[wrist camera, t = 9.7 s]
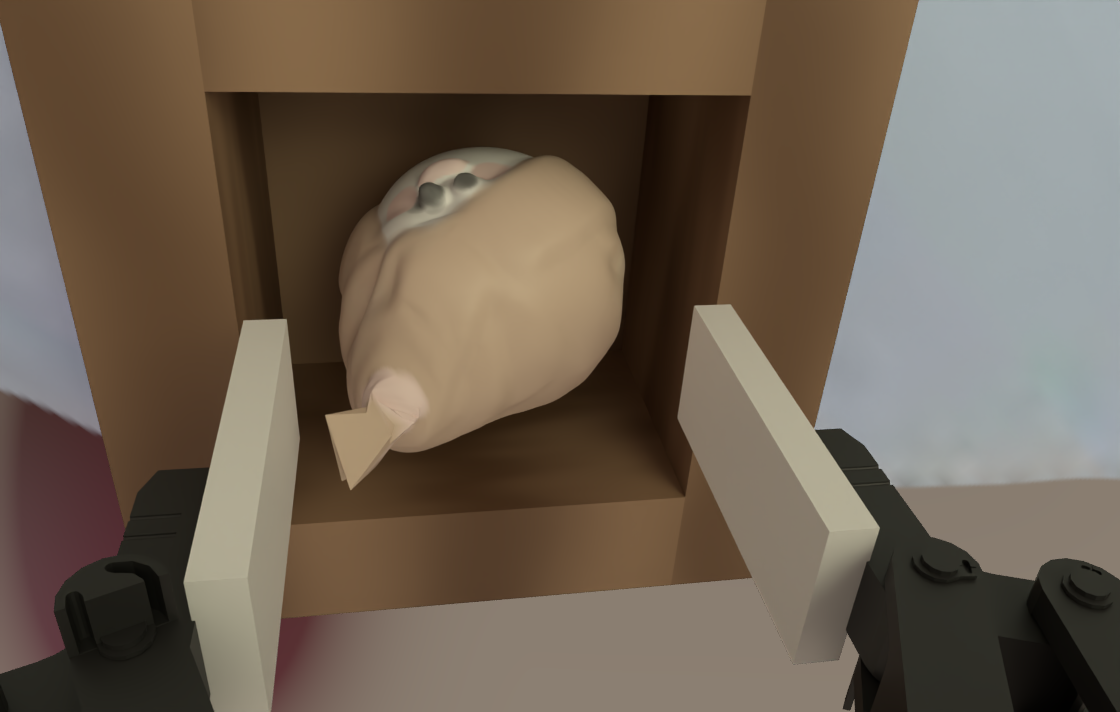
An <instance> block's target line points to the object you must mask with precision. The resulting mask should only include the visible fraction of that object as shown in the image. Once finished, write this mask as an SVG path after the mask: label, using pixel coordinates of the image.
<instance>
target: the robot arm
mask: <svg viewBox="0 0 1120 712" xmlns="http://www.w3.org/2000/svg"><path fill="white" fill-rule="evenodd" d="M677 418H678V421H679V423H680V425H681V427H682V429H683V431H684V433H685V436H686V438H687V440H688V442H689V444H690V446H691V448H692V450H693V453H694V455H695V457H696V459H697V461H698V463H699V465H700V467H701V470H702V472H703V474H704V476H705V478H706V480H707V482H708V485H709V487H710V489H711V491H712V493H713V495H714V497H715V499H716V502H717V504H718V506H719V508H720V510H721V512H722V514H723V516H724V519H725V521H726V523H727V525H728V527H729V529H730V531H731V534H732V536H733V538H734V540H735V542H736V544H737V546H738V548H739V551H740V553H741V555H742V557H743V559H744V561H745V563H746V565H747V568H748V570H749V572H750V574H751V576H752V578H753V580H754V582H755V585H756V587H757V589H758V591H759V593H760V595H761V597H762V600H763V602H764V604H765V606H766V608H767V610H768V612H769V614H770V616H771V619H772V621H773V623H774V625H775V627H776V629H777V632H778V634H779V636H780V638H781V640H782V642H783V644H784V646H785V648H786V651H787V653H788V655H789V657H790V659H791V661H792V663H793V665H795V664H803V663H814V662H824V661H834V660H839V658H840V654H841V651H842V648H843V645H844V642H845V639H846V635H847V633H848V635H849V637H850V639H851V641H852V642H853V644H854V646H855V648H856V650H857V652H858V653H859V658H858V661H857V664H856V667H855V670H854V674H853V676H852V679H851V683H850V685H849V689H848V692H847V695H846V698H845V702H844V706H843V709H845V710H851V707H852V704H853V701H854V699H855V712H1120V580H1119V579H1118V578H1116V577H1114V576H1113V575H1111V574H1110V573H1108V572H1107V571H1105V570H1103V569H1102V568H1100V567H1097V566H1094V565H1092V564H1089V563H1087V562H1084V561H1079V560H1072V559H1067V558H1064V559H1055V560H1050V561H1049V562H1047V563H1045V564H1044V565H1042V566H1041V568H1040V570H1039V572H1038V575H1037V577H1036V579H1035V581H1032V580H1026V579H1020V578H1014V577H1008V576H1001V575H995V574H991V573H987V572H983V571H982V570H981V568H980V566H979V564H978V563H977V562H976V561H975V560H974V559H973V558H972V557H971V556H970V555H969V554H968V553H967V552H966V551H964V550H962V549H961V548H958V547H957V546H955V545H954V544H952V543H949V542H946V541H942V540H940V539H936V538H933V537H930V536H929V534H928V533H927V531H926V530H925V529H924V527H923V526H922V524H921V523H920V522H919V520H918V519H917V518H916V516H915V515H914V514H913V512H912V511H911V509H910V508H909V507H908V505H907V504H906V502H905V501H904V500H903V498H902V497H901V496H900V494H899V493H898V491H897V490H896V489H895V487H894V486H893V485H890V480H889V479H888V478H887V476H886V475H885V473H884V472H883V471H882V469H879V468H878V464H877V462H876V461H875V460H874V458H873V457H872V456H871V454H870V453H869V451H868V450H867V449H866V447H865V446H864V445H863V444H861V443H860V442H859V441H857V440H856V439H855V438H853V437H852V436H850V435H849V434H848V433H846V432H845V431H843V430H842V429H824V430H814V428H813V427H812V425H811V424H810V422H809V421H808V419H807V418H806V416H805V415H804V413H803V412H802V410H801V409H800V407H799V406H798V404H797V403H796V401H795V400H794V398H793V397H792V395H791V394H790V392H789V391H788V389H787V388H786V386H785V385H784V383H783V382H782V380H781V379H780V377H779V376H778V374H777V373H776V371H775V370H774V368H773V367H772V365H771V364H770V362H769V361H768V360H767V358H766V357H765V355H764V354H763V352H762V351H761V349H760V348H759V346H758V345H757V343H756V342H755V340H754V339H753V337H752V336H751V334H750V333H749V331H748V330H747V328H746V327H745V325H744V324H743V322H742V321H741V319H740V318H739V316H738V315H737V313H736V312H735V310H734V309H733V307H732V306H731V304H726V305H696V306H694V310H693V317H692V323H691V330H690V337H689V343H688V350H687V357H686V363H685V370H684V377H683V384H682V390H681V397H680V404H679V410H678V417H677ZM299 442H300V436H299V427H298V418H297V409H296V399H295V390H294V381H293V372H292V363H291V354H290V345H289V336H288V327H287V319H270V320H244V321H243V325H242V329H241V334H240V338H239V342H238V347H237V351H236V356H235V360H234V364H233V369H232V373H231V377H230V382H229V386H228V390H227V395H226V399H225V404H224V408H223V412H222V417H221V421H220V425H219V430H218V434H217V439H216V443H215V447H214V452H213V456H212V460H211V465H210V467H206V468H189V469H172V470H158V471H157V472H156V473H155V474H154V475H153V476H152V477H151V478H150V480H149V481H148V482H147V483H146V484H145V485H144V486H143V487H142V488H141V489H140V490H139V491H138V492H137V495H136V498H135V501H134V505H133V508H132V511H131V514H130V521H128V523H127V526H126V530H125V533H124V536H123V537H124V540H123V541H122V542H121V545H120V548H119V551H118V554H117V556H113V557H108V558H103V559H101V560H99V561H96V562H94V563H92V564H90V565H87V566H85V567H83V568H81V569H80V570H79V571H77V572H76V573H75V574H74V575H72V576H71V577H70V578H69V579H67V580H66V581H65V582H64V584H63V585H62V587H61V588H60V590H59V592H58V593H57V595H56V596H55V606H54V613H55V617H56V619H57V623H58V626H59V629H60V632H61V635H62V639H63V641H64V644H65V649H64V650H62V651H60V652H59V653H57V654H55V655H53V656H51V657H48V658H46V659H43V660H41V661H38V662H36V663H33V664H29V665H27V666H23V667H21V668H17V669H15V670H11V671H8V672H5V673H2V674H0V712H271V706H272V698H273V688H274V679H275V669H276V660H277V650H278V641H279V631H280V622H281V612H282V603H283V593H284V584H285V575H286V565H287V556H288V546H289V537H290V527H291V518H292V508H293V499H294V489H295V480H296V470H297V461H298V451H299Z"/></svg>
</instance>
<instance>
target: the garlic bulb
mask: <svg viewBox="0 0 1120 712" xmlns="http://www.w3.org/2000/svg"><path fill="white" fill-rule="evenodd" d="M624 272H625V258H624V252H623V248H622V245H621V241H620V239H619V236H618V233H617V226H616V215H615V210H614V208H613V206H612V204H611V202H610V201H609V200H608V198H607V197H606V196H605V195H604V194H603V193H602V192H601V191H600V189H599V188H598V187H597V186H596V185H595V184H594V183H593V182H592V181H591V180H590V179H589V178H588V177H587V176H586V175H585V174H583V173H582V172H581V171H580V170H578V169H577V168H576V167H574V166H573V165H571V164H570V163H569V162H567V161H565V160H563V159H561V158H559V157H556V156H551V155H544V156H538V157H532V156H529V155H526V154H523V153H520V152H517V151H513V150H508V149H503V148H495V147H469V148H461V149H455V150H451V151H447V152H444V153H440V154H438V155H435V156H432V157H430V158H428V159H426V160H424V161H422V162H420V163H419V164H417V165H415V166H414V167H412V168H411V169H410V170H408V171H407V172H406V173H405V174H403V175H402V176H401V177H400V178H399V179H398V180H397V181H396V182H395V183H394V185H393V186H392V187H391V188H390V190H389V191H388V192H387V194H386V195H385V197H384V198H383V200H382V202H381V203H380V204H379V205H377V206H375V207H374V208H372V209H371V210H369V211H368V212H367V213H366V214H365V215H364V216H363V217H362V218H361V219H360V221H359V222H358V223H357V225H356V226H355V228H354V229H353V231H352V233H351V235H350V237H349V239H348V242H347V244H346V247H345V250H344V253H343V256H342V261H341V265H340V271H339V288H340V292H341V294H342V302H341V314H340V320H339V339H340V346H341V353H342V358H343V361H344V364H345V367H346V370H347V391H348V397H349V401H350V405H351V408H352V410H348V411H343V412H338V413H333V414H328V415H325V416H326V420H327V424H328V428H329V432H330V436H331V440H332V444H333V448H334V452H335V456H336V460H337V464H338V468H339V472H340V476H341V480H342V481H343V480H346V479H347V482H348V485H349V488H350V490H352V489H353V488H354V487H355V486H356V485H357V484H358V483H359V482H360V481H361V480H362V479H363V478H364V477H366V476H367V475H368V474H369V473H370V472H371V471H372V470H373V469H374V468H375V467H376V466H377V465H378V464H379V462H380V461H381V460H382V458H383V457H384V455H385V454H386V453H387V451H388V450H389V449H391V450H394V451H398V452H420V451H424V450H427V449H430V448H433V447H436V446H438V445H441V444H443V443H446V442H449V441H451V440H453V439H455V438H457V437H459V436H461V435H463V434H466V433H469V432H471V431H473V430H476V429H478V428H480V427H482V426H484V425H485V424H488V423H490V422H493V421H495V420H497V419H500V418H503V417H505V416H508V415H512V414H515V413H520V412H524V411H527V410H530V409H533V408H536V407H539V406H542V405H546V404H548V403H551V402H553V401H555V400H557V399H559V398H561V397H562V396H564V395H565V394H567V393H568V392H569V391H571V390H572V389H574V388H575V387H577V386H578V385H580V384H581V383H582V382H583V381H585V380H586V379H587V377H588V376H589V375H590V374H591V372H592V371H593V370H594V369H595V367H596V366H597V364H598V363H599V362H600V361H601V359H602V358H603V357H604V355H605V354H606V353H607V351H608V350H609V348H610V347H611V345H612V344H613V342H614V341H615V339H616V337H617V334H618V332H619V328H620V323H621V315H622V301H623V282H624Z"/></svg>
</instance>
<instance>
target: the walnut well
mask: <svg viewBox="0 0 1120 712" xmlns="http://www.w3.org/2000/svg"><path fill="white" fill-rule="evenodd" d="M918 1H919V0H0V23H1V27H2V31H3V36H4V40H5V44H6V48H7V52H8V56H9V60H10V64H11V68H12V72H13V76H14V80H15V84H16V88H17V92H18V96H19V100H20V104H21V109H22V113H23V117H24V121H25V125H26V129H27V133H28V137H29V141H30V145H31V149H32V153H33V157H34V161H35V165H36V169H37V173H38V178H39V182H40V186H41V190H42V194H43V198H44V202H45V206H46V210H47V214H48V218H49V222H50V226H51V230H52V234H53V238H54V242H55V246H56V251H57V255H58V259H59V263H60V267H61V271H62V275H63V279H64V283H65V287H66V291H67V295H68V299H69V303H70V307H71V311H72V315H73V319H74V324H75V328H76V332H77V336H78V340H79V344H80V348H81V352H82V356H83V360H84V364H85V368H86V372H87V376H88V380H89V384H90V388H91V393H92V397H93V401H94V405H95V409H96V413H97V417H98V421H99V425H100V429H101V433H102V437H103V441H104V445H105V449H106V453H107V457H108V461H109V466H110V470H111V473H112V478H113V481H114V486H115V490H116V494H117V498H118V502H119V506H120V510H121V514H122V518H123V522H124V526H125V530H126V526H127V523H128V521H130V514H131V511H132V508H133V505H134V501H135V498H136V495H137V492H138V491H139V490H140V489H141V488H142V487H143V486H144V485H145V484H146V483H147V482H148V481H149V480H150V478H151V477H152V476H153V475H154V474H155V473H156V472H157V471H158V470H172V469H189V468H206V467H210V465H211V460H212V456H213V452H214V447H215V443H216V439H217V434H218V430H219V425H220V421H221V417H222V412H223V408H224V404H225V399H226V395H227V390H228V386H229V382H230V377H231V373H232V369H233V364H234V360H235V356H236V351H237V347H238V342H239V338H240V334H241V329H242V325H243V321H244V320H270V319H287V327H288V336H289V345H290V354H291V363H292V372H293V381H294V390H295V399H296V409H297V418H298V427H299V436H300V442H299V451H298V461H297V470H296V480H295V489H294V499H293V508H292V518H291V527H290V537H289V546H288V556H287V565H286V575H285V584H284V593H283V603H282V612H281V618H293V617H305V616H316V615H328V614H340V613H350V612H363V611H375V610H386V609H397V608H409V607H421V606H432V605H444V604H454V603H467V602H479V601H490V600H502V599H513V598H525V597H536V596H548V595H559V594H571V593H582V592H594V591H605V590H617V589H628V588H640V587H652V586H664V585H675V584H687V583H698V582H710V581H721V580H732V579H744V578H752V576H751V574H750V572H749V570H748V568H747V565H746V563H745V561H744V559H743V557H742V555H741V553H740V551H739V548H738V546H737V544H736V542H735V540H734V538H733V536H732V534H731V531H730V529H729V527H728V525H727V523H726V521H725V519H724V516H723V514H722V512H721V510H720V508H719V506H718V504H717V502H716V499H715V497H714V495H713V493H712V491H711V489H710V487H709V485H708V482H707V480H706V478H705V476H704V474H703V472H702V470H701V467H700V465H699V463H698V461H697V459H696V457H695V455H694V453H693V450H692V448H691V446H690V444H689V442H688V440H687V438H686V436H685V433H684V431H683V429H682V427H681V425H680V423H679V421H678V418H677V417H678V410H679V404H680V397H681V390H682V384H683V377H684V370H685V363H686V357H687V350H688V343H689V337H690V330H691V323H692V317H693V310H694V306H696V305H726V304H731V306H732V307H733V309H734V310H735V312H736V313H737V315H738V316H739V318H740V319H741V321H742V322H743V324H744V325H745V327H746V328H747V330H748V331H749V333H750V334H751V336H752V337H753V339H754V340H755V342H756V343H757V345H758V346H759V348H760V349H761V351H762V352H763V354H764V355H765V357H766V358H767V360H768V361H769V362H770V364H771V365H772V367H773V368H774V370H775V371H776V373H777V374H778V376H779V377H780V379H781V380H782V382H783V383H784V385H785V386H786V388H787V389H788V391H789V392H790V394H791V395H792V397H793V398H794V400H795V401H796V403H797V404H798V406H799V407H800V409H801V410H802V412H803V413H804V415H805V416H806V418H807V419H808V421H809V422H810V424H811V425H812V427H813V428H814V426H815V422H816V418H817V414H818V410H819V406H820V402H821V398H822V394H823V390H824V386H825V381H826V377H827V373H828V369H829V365H830V361H831V357H832V353H833V349H834V345H835V341H836V336H837V332H838V328H839V324H840V320H841V316H842V312H843V308H844V304H845V300H846V296H847V292H848V287H849V283H850V279H851V275H852V271H853V267H854V263H855V259H856V255H857V251H858V247H859V242H860V238H861V234H862V230H863V226H864V222H865V218H866V214H867V210H868V206H869V202H870V197H871V193H872V189H873V185H874V181H875V177H876V173H877V169H878V165H879V161H880V157H881V152H882V148H883V144H884V140H885V136H886V132H887V128H888V124H889V120H890V116H891V112H892V107H893V103H894V99H895V95H896V91H897V87H898V83H899V79H900V75H901V71H902V67H903V62H904V58H905V54H906V50H907V46H908V42H909V38H910V34H911V30H912V26H913V22H914V17H915V13H916V9H917V5H918ZM469 147H495V148H503V149H508V150H513V151H517V152H520V153H523V154H526V155H529V156H532V157H538V156H544V155H551V156H556V157H559V158H561V159H563V160H565V161H567V162H569V163H570V164H571V165H573V166H574V167H576V168H577V169H578V170H580V171H581V172H582V173H583V174H585V175H586V176H587V177H588V178H589V179H590V180H591V181H592V182H593V183H594V184H595V185H596V186H597V187H598V188H599V189H600V191H601V192H602V193H603V194H604V195H605V196H606V197H607V198H608V200H609V201H610V202H611V204H612V206H613V208H614V210H615V215H616V226H617V233H618V236H619V239H620V241H621V245H622V248H623V252H624V258H625V272H624V282H623V301H622V315H621V323H620V328H619V332H618V334H617V337H616V339H615V341H614V342H613V344H612V345H611V347H610V348H609V350H608V351H607V353H606V354H605V355H604V357H603V358H602V359H601V361H600V362H599V363H598V364H597V366H596V367H595V369H594V370H593V371H592V372H591V374H590V375H589V376H588V377H587V379H586V380H585V381H583V382H582V383H581V384H580V385H578V386H577V387H575V388H574V389H572V390H571V391H569V392H568V393H567V394H565V395H564V396H562V397H561V398H559V399H557V400H555V401H553V402H551V403H548V404H546V405H542V406H539V407H536V408H533V409H530V410H527V411H524V412H520V413H515V414H512V415H508V416H505V417H503V418H500V419H497V420H495V421H493V422H490V423H488V424H485V425H484V426H482V427H480V428H478V429H476V430H473V431H471V432H469V433H466V434H463V435H461V436H459V437H457V438H455V439H453V440H451V441H449V442H446V443H443V444H441V445H438V446H436V447H433V448H430V449H427V450H424V451H420V452H398V451H394V450H391V449H389V450H388V451H387V453H386V454H385V455H384V457H383V458H382V460H381V461H380V462H379V464H378V465H377V466H376V467H375V468H374V469H373V470H372V471H371V472H370V473H369V474H368V475H367V476H366V477H364V478H363V479H362V480H361V481H360V482H359V483H358V484H357V485H356V486H355V487H354V488H353V489H352V490H350V488H349V485H348V482H347V479H346V480H343V481H342V480H341V476H340V472H339V468H338V464H337V460H336V456H335V452H334V448H333V444H332V440H331V436H330V432H329V428H328V424H327V420H326V416H325V415H328V414H333V413H338V412H343V411H348V410H352V408H351V405H350V401H349V397H348V391H347V370H346V367H345V364H344V361H343V358H342V353H341V346H340V339H339V320H340V314H341V302H342V294H341V292H340V288H339V271H340V265H341V261H342V256H343V253H344V250H345V247H346V244H347V242H348V239H349V237H350V235H351V233H352V231H353V229H354V228H355V226H356V225H357V223H358V222H359V221H360V219H361V218H362V217H363V216H364V215H365V214H366V213H367V212H368V211H369V210H371V209H372V208H374V207H375V206H377V205H379V204H380V203H381V202H382V200H383V198H384V197H385V195H386V194H387V192H388V191H389V190H390V188H391V187H392V186H393V185H394V183H395V182H396V181H397V180H398V179H399V178H400V177H401V176H402V175H403V174H405V173H406V172H407V171H408V170H410V169H411V168H412V167H414V166H415V165H417V164H419V163H420V162H422V161H424V160H426V159H428V158H430V157H432V156H435V155H438V154H440V153H444V152H447V151H451V150H455V149H461V148H469Z"/></svg>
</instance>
